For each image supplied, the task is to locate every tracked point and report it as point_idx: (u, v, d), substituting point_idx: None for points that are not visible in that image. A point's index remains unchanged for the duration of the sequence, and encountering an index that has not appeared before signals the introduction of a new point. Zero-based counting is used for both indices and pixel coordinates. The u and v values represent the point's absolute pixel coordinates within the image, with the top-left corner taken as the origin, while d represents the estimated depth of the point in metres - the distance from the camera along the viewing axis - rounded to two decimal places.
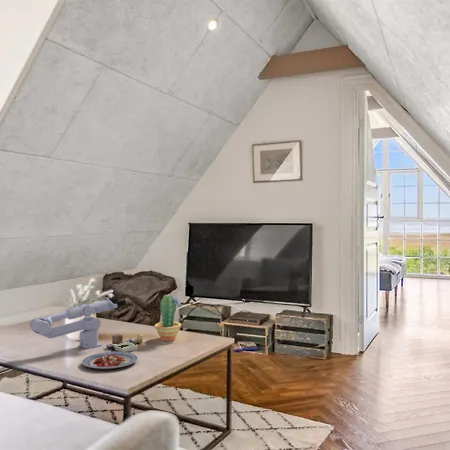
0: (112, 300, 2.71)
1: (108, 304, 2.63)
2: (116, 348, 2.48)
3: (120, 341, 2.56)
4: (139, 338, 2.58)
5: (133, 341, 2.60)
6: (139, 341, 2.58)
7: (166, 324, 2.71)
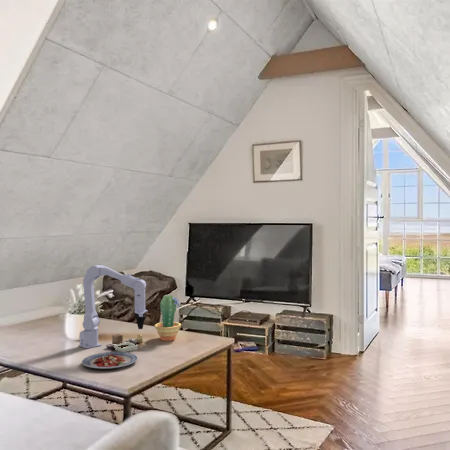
0: None
1: (141, 309, 2.53)
2: (116, 348, 2.48)
3: (120, 341, 2.56)
4: (139, 338, 2.58)
5: (133, 341, 2.60)
6: (139, 341, 2.58)
7: (166, 324, 2.71)
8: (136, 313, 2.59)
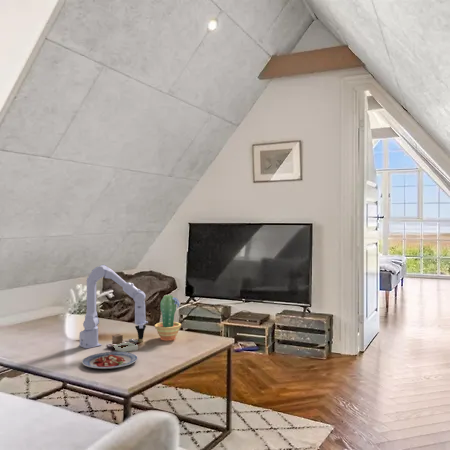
0: (142, 332, 2.58)
1: (142, 321, 2.56)
2: (116, 348, 2.48)
3: (120, 341, 2.56)
4: None
5: (133, 341, 2.60)
6: (140, 341, 2.59)
7: (166, 324, 2.71)
8: None
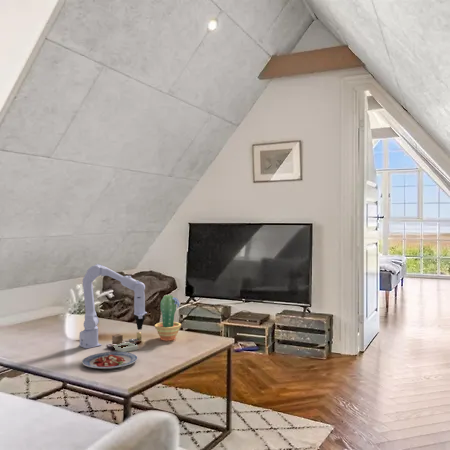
0: None
1: (141, 311, 2.57)
2: (116, 348, 2.48)
3: (120, 341, 2.56)
4: (140, 335, 2.64)
5: (134, 340, 2.62)
6: (140, 338, 2.64)
7: (166, 324, 2.71)
8: (136, 316, 2.61)
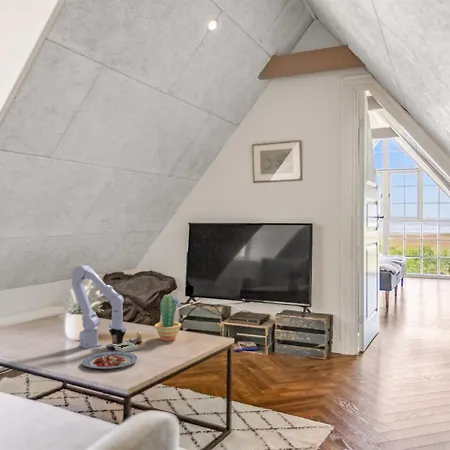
0: None
1: (121, 325, 2.56)
2: (116, 348, 2.48)
3: None
4: (140, 335, 2.64)
5: (134, 340, 2.62)
6: (140, 338, 2.64)
7: (166, 324, 2.71)
8: (111, 329, 2.58)
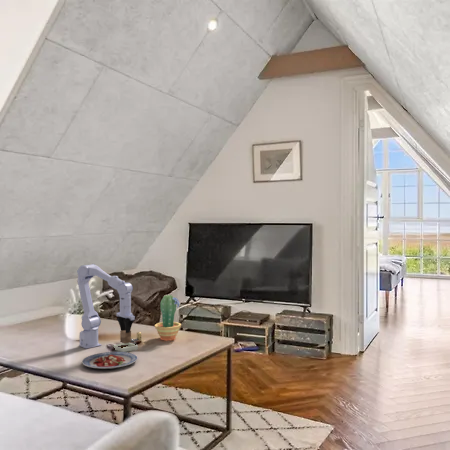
0: (124, 323, 2.52)
1: (129, 313, 2.49)
2: (116, 348, 2.48)
3: (128, 337, 2.49)
4: (140, 335, 2.64)
5: (134, 340, 2.62)
6: (140, 338, 2.64)
7: (166, 324, 2.71)
8: (119, 318, 2.52)
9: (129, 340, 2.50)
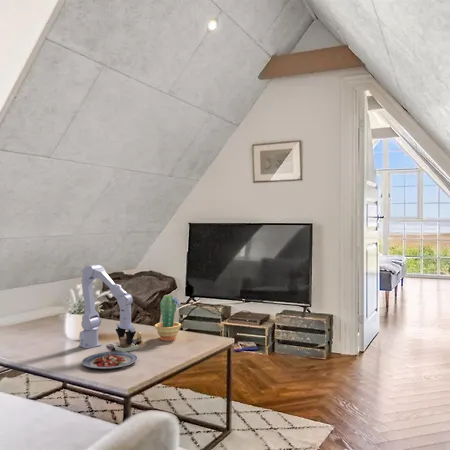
0: (123, 334, 2.54)
1: (129, 324, 2.49)
2: (116, 348, 2.48)
3: None
4: (140, 335, 2.64)
5: (134, 340, 2.62)
6: (140, 338, 2.64)
7: (166, 324, 2.71)
8: (117, 329, 2.53)
9: None
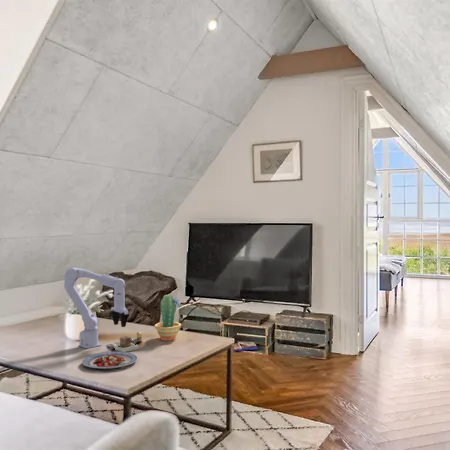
0: (117, 317, 2.63)
1: (123, 307, 2.59)
2: (116, 348, 2.48)
3: (128, 344, 2.49)
4: (140, 335, 2.64)
5: (134, 340, 2.62)
6: (140, 338, 2.64)
7: (166, 324, 2.71)
8: (112, 312, 2.63)
9: None
